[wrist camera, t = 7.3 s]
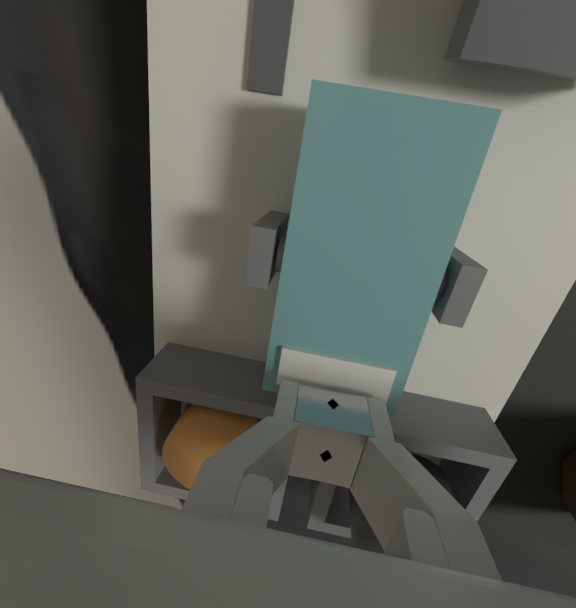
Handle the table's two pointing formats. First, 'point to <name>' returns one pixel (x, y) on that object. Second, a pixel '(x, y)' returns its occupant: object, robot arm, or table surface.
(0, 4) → the table surface
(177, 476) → the button orange
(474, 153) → the rocker teal
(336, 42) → the console
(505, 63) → the rocker charcoal
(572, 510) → the beer bottle
